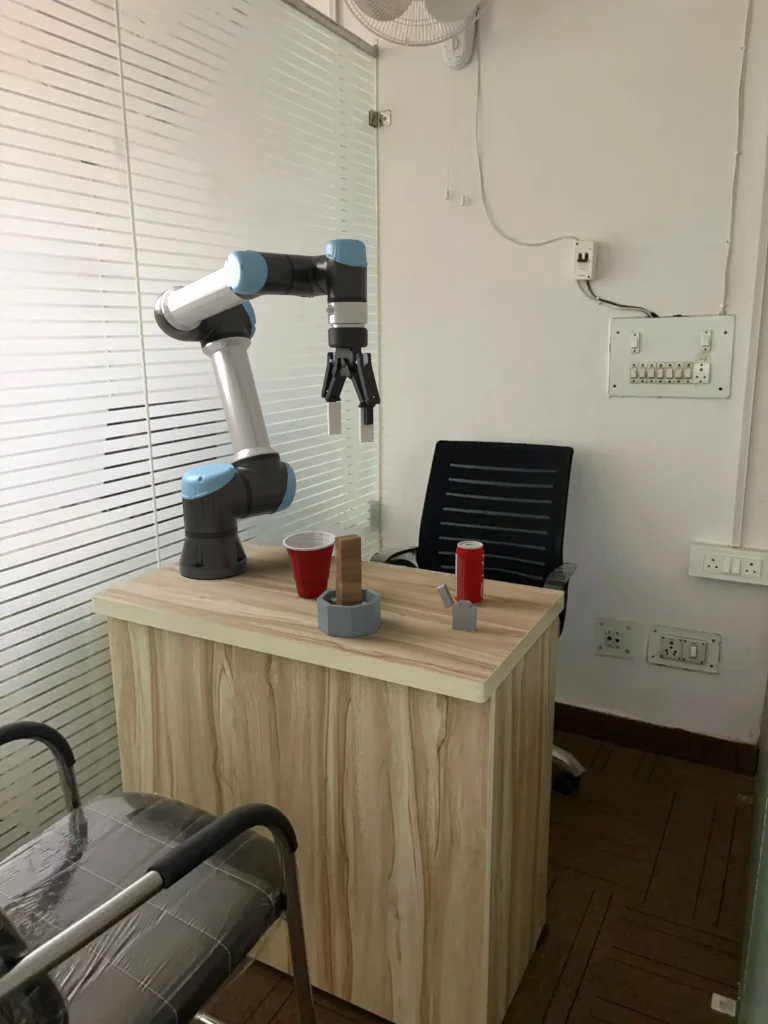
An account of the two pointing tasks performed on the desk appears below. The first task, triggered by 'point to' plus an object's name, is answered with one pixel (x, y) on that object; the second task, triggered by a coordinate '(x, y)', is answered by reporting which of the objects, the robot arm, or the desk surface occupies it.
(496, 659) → the desk surface
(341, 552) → the brown wooden block
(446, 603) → the lighter
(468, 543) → the soda can
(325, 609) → the grey faceted bowl
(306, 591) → the plastic cup
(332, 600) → the clip
